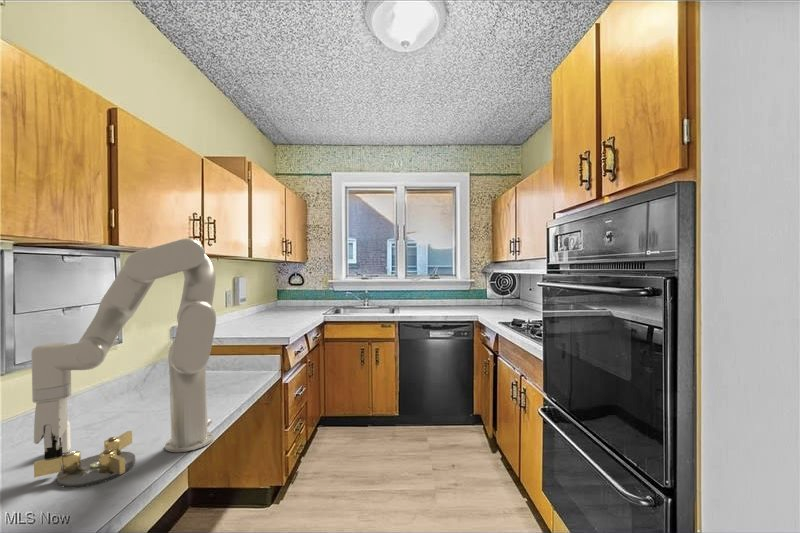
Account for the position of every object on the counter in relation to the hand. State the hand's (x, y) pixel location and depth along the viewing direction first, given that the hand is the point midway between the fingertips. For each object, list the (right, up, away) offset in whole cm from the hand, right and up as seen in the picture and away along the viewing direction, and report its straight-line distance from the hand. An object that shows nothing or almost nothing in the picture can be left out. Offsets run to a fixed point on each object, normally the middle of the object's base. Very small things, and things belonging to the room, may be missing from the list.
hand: (53, 464), depth 102 cm
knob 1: (+3, -1, -3) cm, 4 cm away
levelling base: (+10, -2, +1) cm, 11 cm away
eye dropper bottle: (-10, -4, +15) cm, 18 cm away
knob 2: (+10, -1, +9) cm, 14 cm away
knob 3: (+17, 0, -3) cm, 17 cm away
